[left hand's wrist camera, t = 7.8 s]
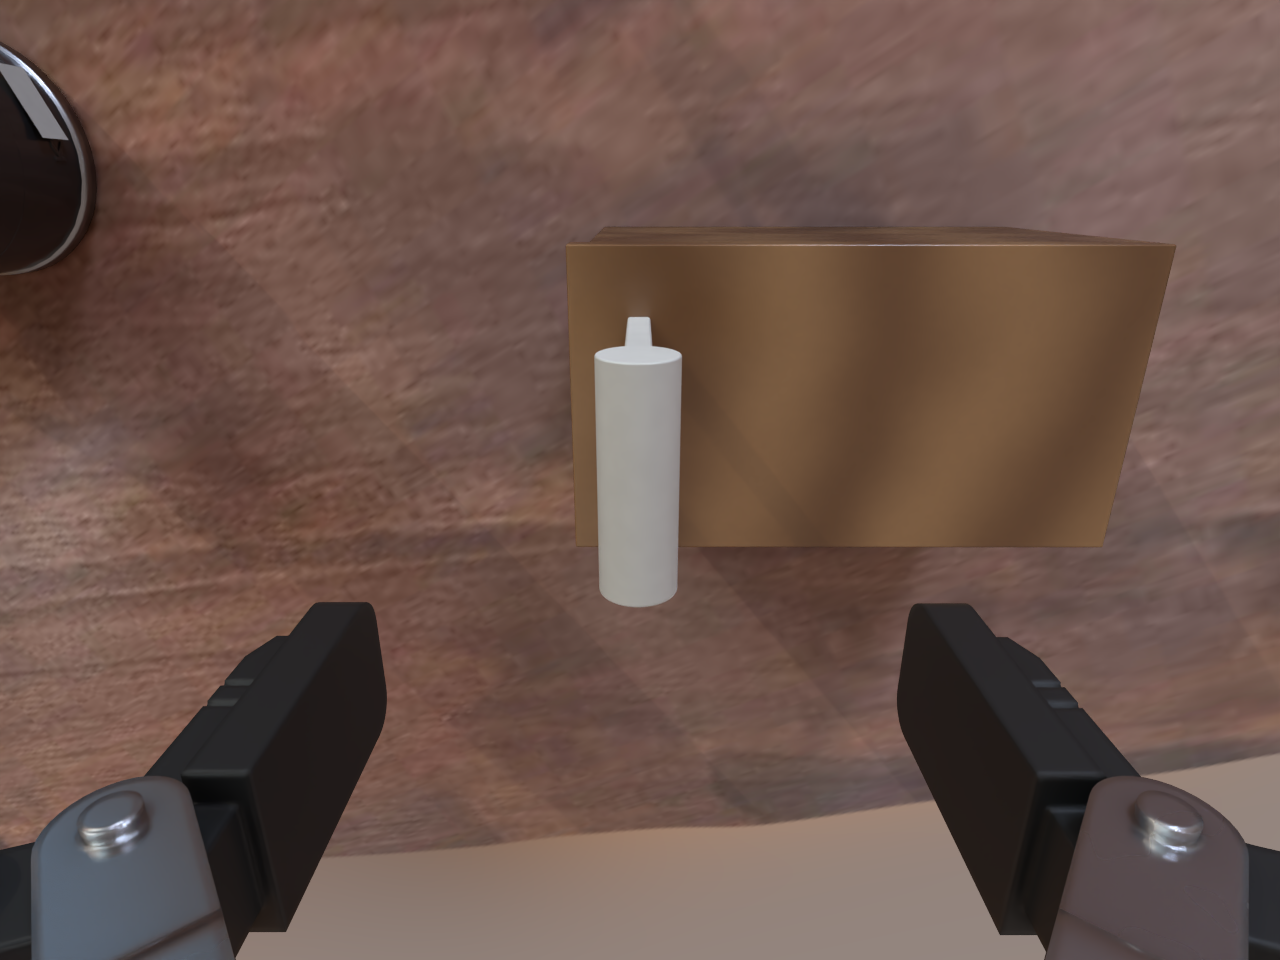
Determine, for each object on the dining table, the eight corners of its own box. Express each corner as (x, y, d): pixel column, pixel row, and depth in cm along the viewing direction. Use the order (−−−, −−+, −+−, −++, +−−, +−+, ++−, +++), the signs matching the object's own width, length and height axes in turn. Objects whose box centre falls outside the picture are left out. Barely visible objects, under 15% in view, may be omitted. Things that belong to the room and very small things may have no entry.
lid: (578, 534, 27) (552, 675, 19) (568, 241, 23) (532, 268, 15) (1086, 535, 27) (1268, 676, 19) (1156, 241, 23) (1414, 268, 15)
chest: (606, 444, 36) (594, 534, 27) (603, 226, 32) (587, 242, 23) (970, 444, 36) (1085, 534, 27) (1006, 226, 32) (1154, 242, 23)
